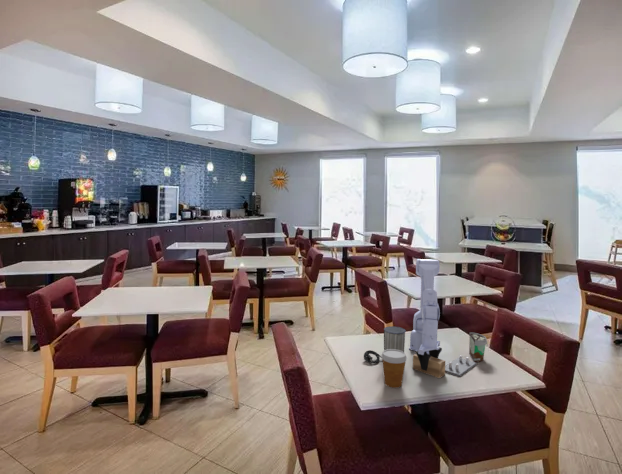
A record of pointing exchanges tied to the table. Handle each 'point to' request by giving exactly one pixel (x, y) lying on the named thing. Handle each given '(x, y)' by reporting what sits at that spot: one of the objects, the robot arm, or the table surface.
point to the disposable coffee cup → (393, 367)
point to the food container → (477, 346)
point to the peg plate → (459, 366)
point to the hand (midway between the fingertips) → (428, 367)
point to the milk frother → (389, 342)
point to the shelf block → (431, 366)
